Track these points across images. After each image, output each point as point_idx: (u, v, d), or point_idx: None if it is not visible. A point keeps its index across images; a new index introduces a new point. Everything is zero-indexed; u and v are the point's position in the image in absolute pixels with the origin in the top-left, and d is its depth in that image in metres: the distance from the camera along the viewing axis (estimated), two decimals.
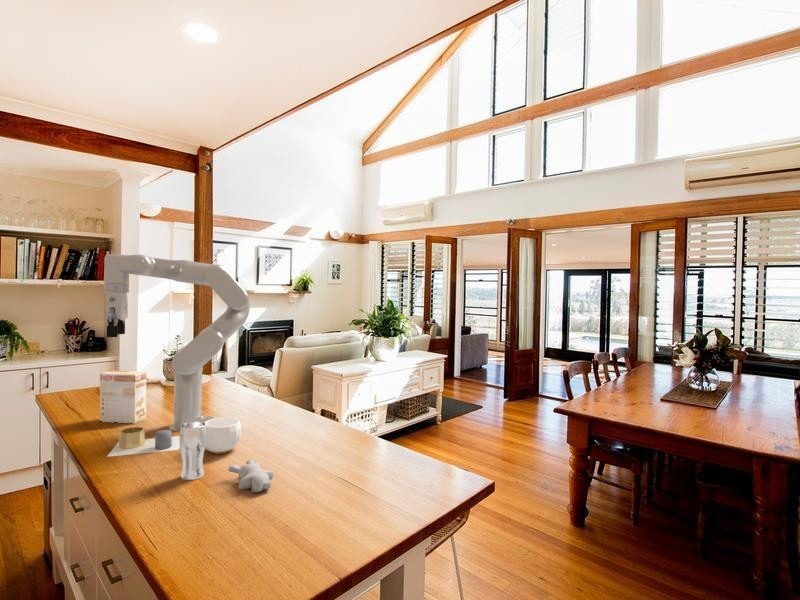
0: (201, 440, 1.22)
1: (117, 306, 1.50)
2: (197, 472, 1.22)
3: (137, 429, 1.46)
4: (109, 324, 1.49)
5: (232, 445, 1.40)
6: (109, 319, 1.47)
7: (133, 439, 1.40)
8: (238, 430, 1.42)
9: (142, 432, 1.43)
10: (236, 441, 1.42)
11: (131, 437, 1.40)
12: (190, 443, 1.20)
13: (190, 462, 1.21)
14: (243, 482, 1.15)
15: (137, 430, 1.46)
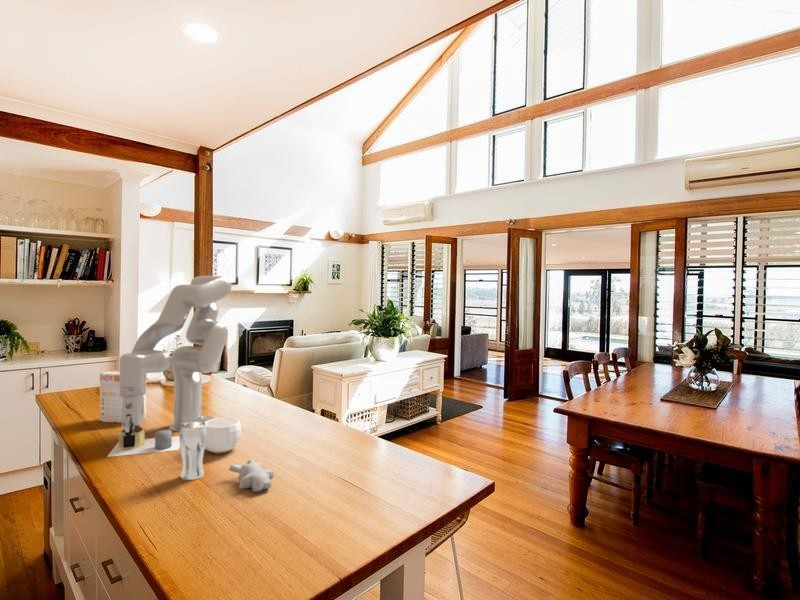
0: (201, 440, 1.22)
1: (134, 412, 1.39)
2: (197, 472, 1.22)
3: (137, 429, 1.46)
4: (126, 434, 1.38)
5: (232, 445, 1.40)
6: (126, 431, 1.37)
7: None
8: (238, 430, 1.42)
9: (142, 432, 1.43)
10: (236, 441, 1.42)
11: None
12: (190, 443, 1.20)
13: (190, 462, 1.21)
14: (243, 482, 1.15)
15: (137, 430, 1.46)
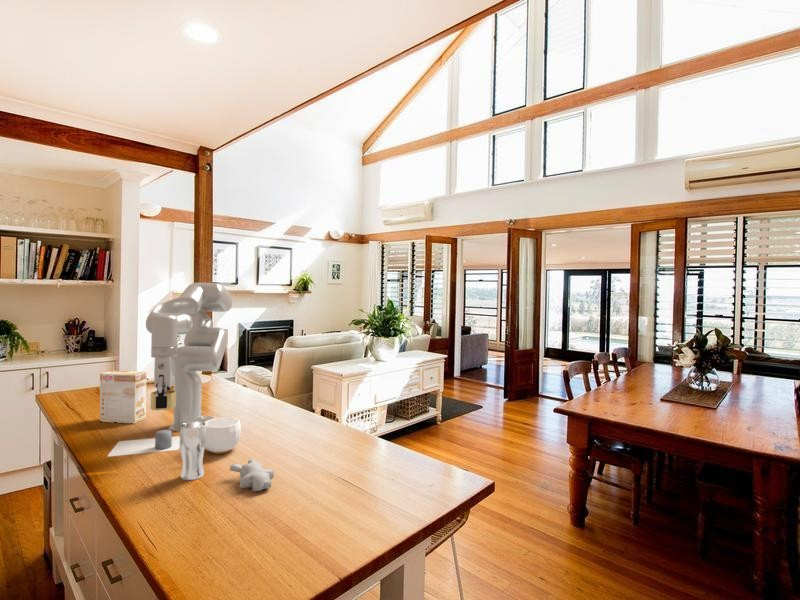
0: (201, 440, 1.22)
1: (166, 373, 1.37)
2: (197, 472, 1.22)
3: (168, 392, 1.45)
4: (159, 395, 1.36)
5: (232, 445, 1.40)
6: (159, 391, 1.35)
7: None
8: (238, 430, 1.42)
9: (173, 394, 1.41)
10: (236, 441, 1.42)
11: None
12: (190, 443, 1.20)
13: (190, 462, 1.21)
14: (244, 481, 1.15)
15: (168, 393, 1.45)
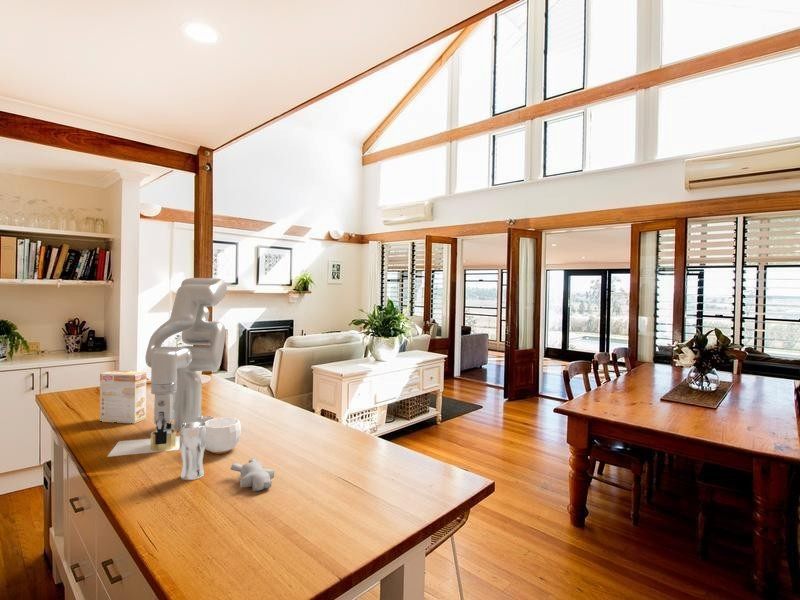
0: (201, 440, 1.22)
1: (166, 410, 1.38)
2: (197, 472, 1.22)
3: None
4: (158, 431, 1.36)
5: (232, 445, 1.40)
6: (159, 426, 1.35)
7: None
8: (238, 430, 1.42)
9: (173, 434, 1.42)
10: (236, 441, 1.42)
11: None
12: (190, 443, 1.20)
13: (190, 462, 1.21)
14: (244, 481, 1.16)
15: None
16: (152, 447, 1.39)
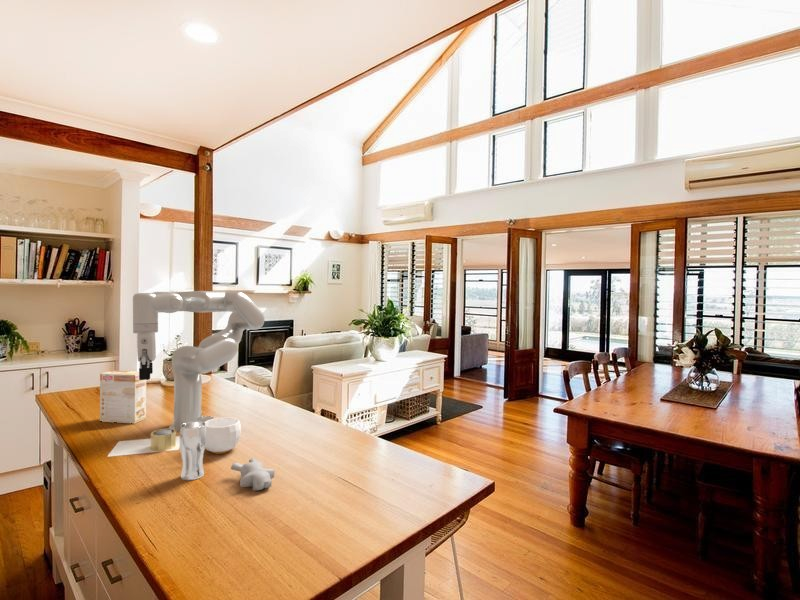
0: (201, 440, 1.22)
1: (149, 347, 1.46)
2: (197, 472, 1.22)
3: None
4: (142, 367, 1.44)
5: (232, 445, 1.40)
6: (143, 362, 1.43)
7: (165, 441, 1.39)
8: (238, 430, 1.42)
9: (173, 434, 1.42)
10: (236, 441, 1.42)
11: (163, 439, 1.39)
12: (190, 443, 1.20)
13: (190, 462, 1.21)
14: (244, 480, 1.16)
15: None
16: (152, 447, 1.39)
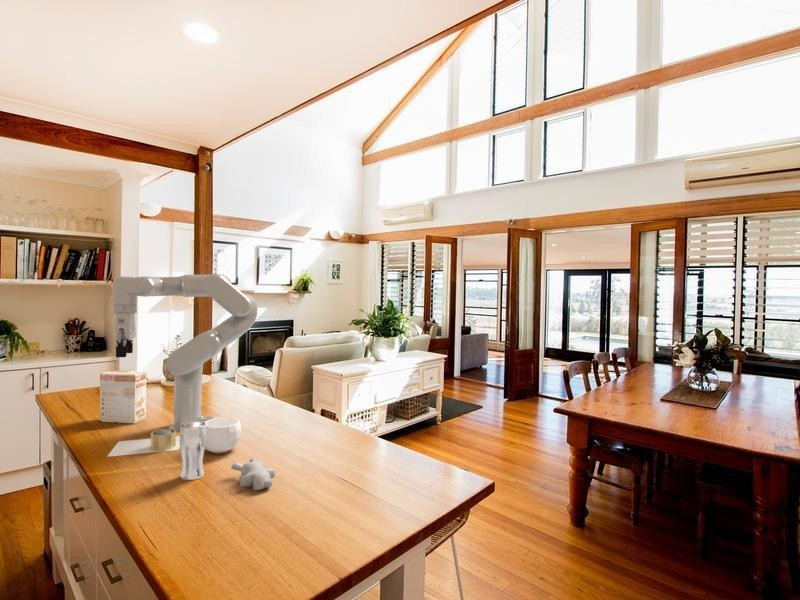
0: (201, 440, 1.22)
1: (126, 327, 1.56)
2: (197, 472, 1.22)
3: None
4: (118, 345, 1.54)
5: (232, 445, 1.40)
6: (118, 340, 1.52)
7: (165, 441, 1.39)
8: (238, 430, 1.42)
9: (173, 434, 1.42)
10: (236, 441, 1.42)
11: (163, 439, 1.39)
12: (190, 443, 1.20)
13: (190, 462, 1.21)
14: (244, 480, 1.16)
15: None
16: (152, 447, 1.39)
